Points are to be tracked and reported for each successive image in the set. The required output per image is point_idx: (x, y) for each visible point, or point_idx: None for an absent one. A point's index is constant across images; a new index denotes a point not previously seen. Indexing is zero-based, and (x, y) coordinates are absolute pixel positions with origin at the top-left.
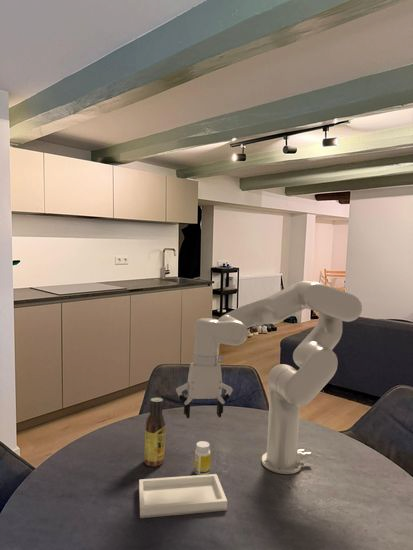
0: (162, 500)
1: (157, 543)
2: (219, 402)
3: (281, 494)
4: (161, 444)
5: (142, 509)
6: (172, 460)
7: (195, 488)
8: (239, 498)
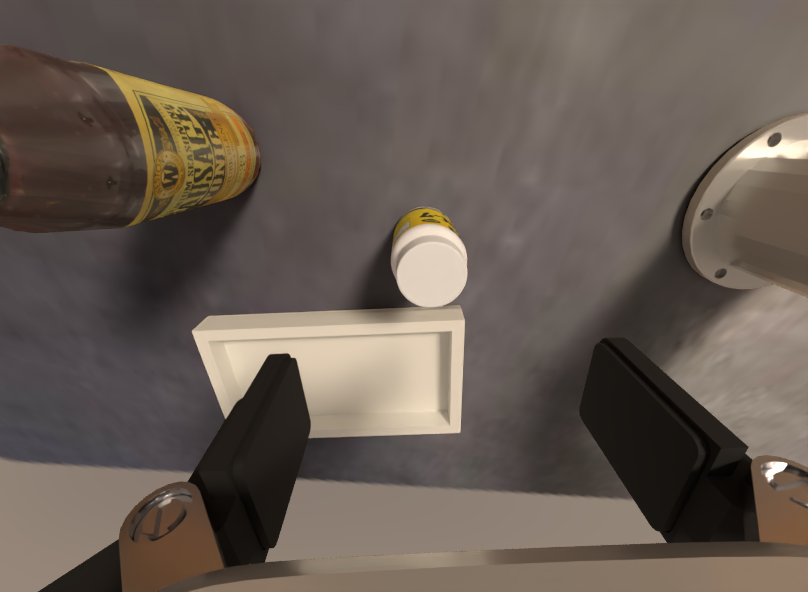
0: None
1: None
2: (694, 533)
3: None
4: (206, 198)
5: None
6: (302, 136)
7: (385, 342)
8: (505, 377)
